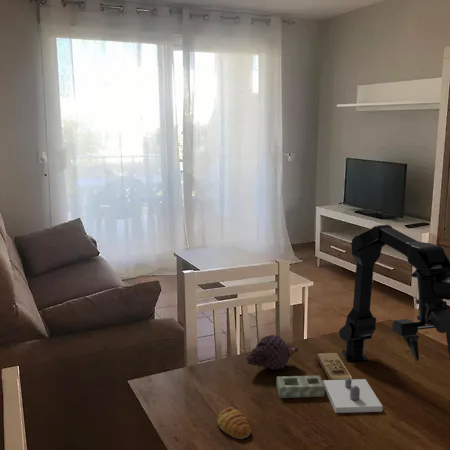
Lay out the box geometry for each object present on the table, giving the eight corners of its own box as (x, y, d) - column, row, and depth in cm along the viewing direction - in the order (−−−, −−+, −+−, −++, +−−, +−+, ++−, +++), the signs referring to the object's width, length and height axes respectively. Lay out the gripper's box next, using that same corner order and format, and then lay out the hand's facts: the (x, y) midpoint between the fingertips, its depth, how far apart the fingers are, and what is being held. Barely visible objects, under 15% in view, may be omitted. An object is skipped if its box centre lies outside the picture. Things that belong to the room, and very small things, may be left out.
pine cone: (255, 382, 147) (255, 349, 145) (237, 368, 155) (237, 337, 153) (305, 367, 155) (305, 336, 153) (285, 355, 164) (285, 325, 162)
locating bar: (279, 397, 139) (280, 387, 138) (276, 386, 144) (276, 376, 144) (324, 396, 139) (324, 386, 139) (319, 385, 145) (319, 375, 144)
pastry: (258, 435, 123) (258, 420, 122) (234, 444, 119) (234, 430, 118) (236, 416, 130) (236, 402, 130) (213, 424, 127) (213, 410, 126)
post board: (322, 385, 145) (323, 368, 144) (365, 384, 146) (366, 367, 145) (335, 412, 131) (336, 394, 130) (382, 411, 132) (383, 393, 131)
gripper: (411, 305, 119) (415, 372, 120) (485, 298, 122) (489, 363, 122) (389, 297, 130) (393, 359, 131) (458, 291, 133) (461, 351, 133)
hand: (434, 358), depth 129 cm, fingers open, 9 cm apart
